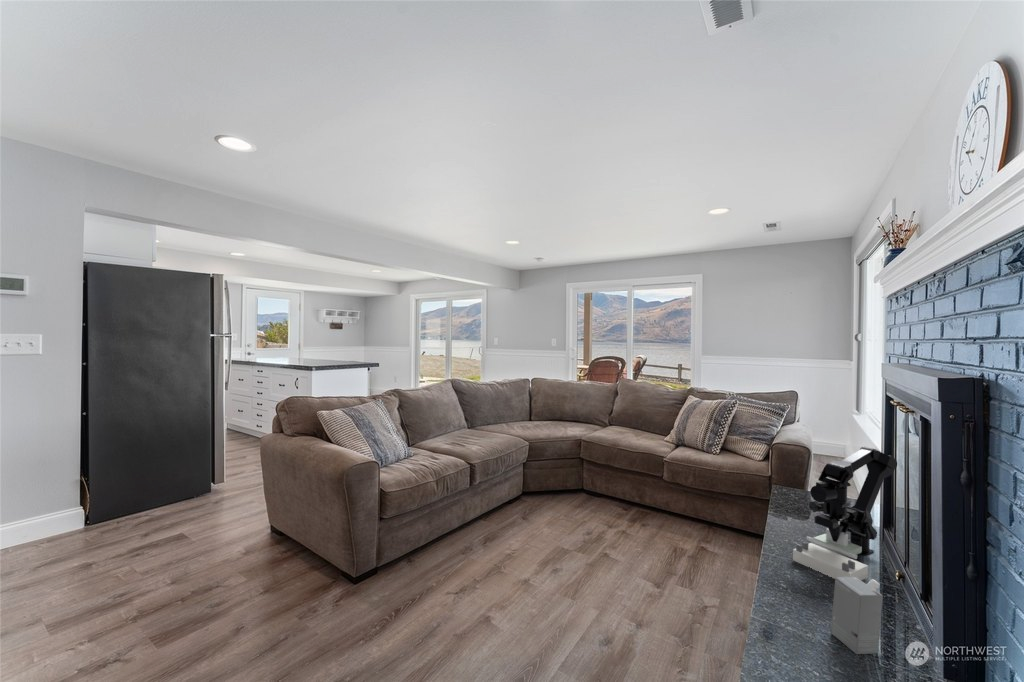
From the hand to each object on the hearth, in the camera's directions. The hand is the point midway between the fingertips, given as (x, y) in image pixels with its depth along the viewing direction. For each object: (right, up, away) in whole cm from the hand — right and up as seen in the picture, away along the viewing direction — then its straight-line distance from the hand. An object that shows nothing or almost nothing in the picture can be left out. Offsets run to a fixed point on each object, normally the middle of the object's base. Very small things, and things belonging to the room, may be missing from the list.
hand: (836, 540), depth 159 cm
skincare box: (-29, -7, -45) cm, 54 cm away
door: (0, -3, 0) cm, 3 cm away
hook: (-17, -6, -32) cm, 37 cm away
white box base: (-9, -6, -8) cm, 14 cm away
